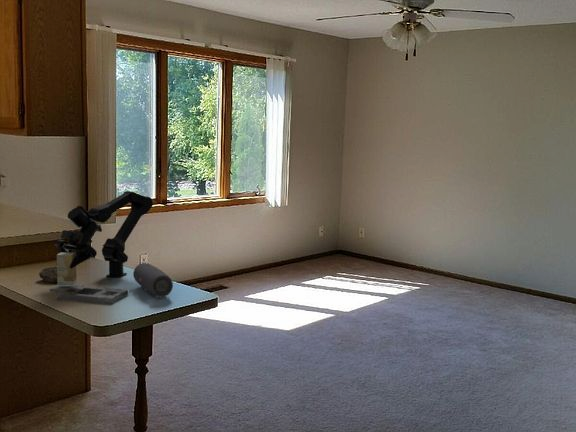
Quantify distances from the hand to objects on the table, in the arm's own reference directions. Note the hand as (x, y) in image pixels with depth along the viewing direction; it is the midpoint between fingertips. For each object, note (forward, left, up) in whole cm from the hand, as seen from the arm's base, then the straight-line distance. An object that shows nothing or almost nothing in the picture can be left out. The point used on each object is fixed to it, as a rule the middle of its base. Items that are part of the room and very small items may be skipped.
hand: (63, 266), depth 236 cm
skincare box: (-1, +1, -7) cm, 8 cm away
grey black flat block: (+7, +16, -9) cm, 20 cm away
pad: (-1, 0, -9) cm, 9 cm away
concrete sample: (-10, -11, -9) cm, 18 cm away
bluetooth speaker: (-5, +35, -9) cm, 36 cm away
